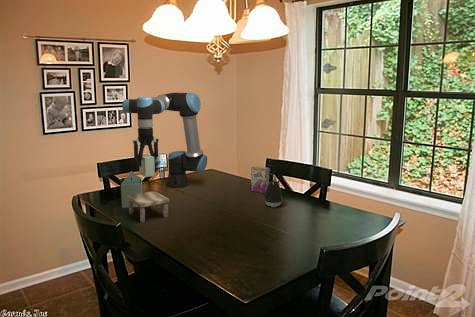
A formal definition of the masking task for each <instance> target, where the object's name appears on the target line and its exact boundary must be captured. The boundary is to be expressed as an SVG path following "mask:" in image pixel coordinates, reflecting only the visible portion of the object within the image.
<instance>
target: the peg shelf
mask: <svg viewBox="0 0 475 317" xmlns="http://www.w3.org/2000/svg"><path fill="white" fill-rule="evenodd" d="M127 199H128V200H129V207H128V214H129V215H134V213H135V212H134V211H135V210H134V208H135V207H133V203H135V204H136V205H138V206H139V218H140V219H139V221H140V223H146V212H145V211H146V210H145V207H151V208H150V209H151V211H155V210H156V209H157V205H160V204H162V205H163V209H162V210H163V211H162V212H163V214H162V216H163V218H165V219H166V218H168V217H169V205H168V204H169V203H170V198H168V197H166V196H164V195H163V194H160V193H158V192H156V191H155V190H153V191H147V192H146V191H145V192H143V193H140V194H134V195H129V196H127Z"/></svg>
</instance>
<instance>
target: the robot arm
mask: <svg viewBox="0 0 475 317" xmlns="http://www.w3.org/2000/svg"><path fill="white" fill-rule="evenodd" d="M201 105H202V103H201V99H200V97H199V95H198V94H197V93H196V92H195V93H193V92H169V93H168V92H167V93H164V94H163V93H162V94H158V95H157V96H152V97H151V96H138V97H137V98H134V99H133V98H125V99H124V100H123V101H122V105H121V106H122V108H121V109H122V111H123V112H124V113H126V114H127V113H128V114H136V115H137V127H138V128H137V139H135V140H134V139H133V140H132V143H133V158H134V160H136V161H137V166H138V167H139V166H140V172H141V173H143V160H142V155H144V149H145V146H146V147H148V151H149V155H150V156H153V157H154V166H155V164H156V158H159V144H158V143H159V138H156V137H154V128H153V127H154V124H153V122H154V120H153V119H154V118H153V115H159V114H161V113H163V112H164V111H171V112H178V113H179V116H180V117H181V118H182V124H183V130H184V136H185V137H184V138H185V144H186V150H176V151H175V150H174V151H171V152H169V153H168V155H167V156H168V157H167V160H168V176H167V178H166V182H165V185H166V186H167V187H168V188H174V189H175V188H186V187H188V186H189V185H190V184H189V182H190V181H189V179H188V178H189V177H188V176H187V172H194V173H203V172H204V171H205V170H206V168H207V165H208V157H207V154H204V151H203V149H201V143H200V137H199V130H198V121H197V115H198V114H199V112H200V110H201ZM187 185H188V186H187Z"/></svg>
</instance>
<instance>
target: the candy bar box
mask: <svg viewBox="0 0 475 317" xmlns="http://www.w3.org/2000/svg"><path fill="white" fill-rule="evenodd" d="M250 171H251V172H250V191H251V192H253V191H257V192H256V193H258V192H263V193H262V194H264V193H266V189H267V187H268V184H269V183H270V167H264V166H259V165H253V166H251V169H250Z"/></svg>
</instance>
